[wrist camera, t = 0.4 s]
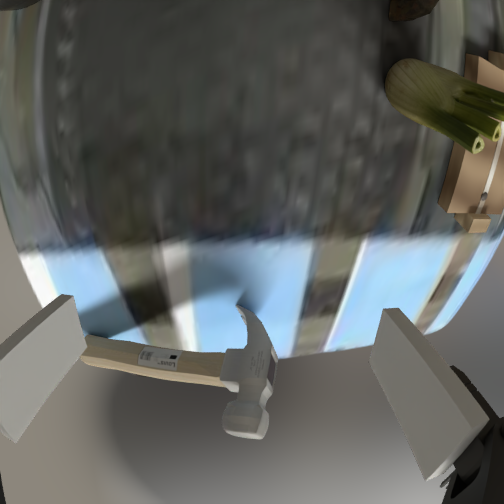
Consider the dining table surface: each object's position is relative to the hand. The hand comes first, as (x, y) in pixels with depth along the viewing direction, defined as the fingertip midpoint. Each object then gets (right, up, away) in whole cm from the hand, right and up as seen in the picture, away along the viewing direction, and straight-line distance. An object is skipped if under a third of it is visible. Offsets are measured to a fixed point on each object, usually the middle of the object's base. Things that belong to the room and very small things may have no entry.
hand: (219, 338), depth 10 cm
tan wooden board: (+28, +16, +10) cm, 34 cm away
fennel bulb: (+14, +18, +8) cm, 24 cm away
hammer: (-11, -7, +27) cm, 30 cm away
